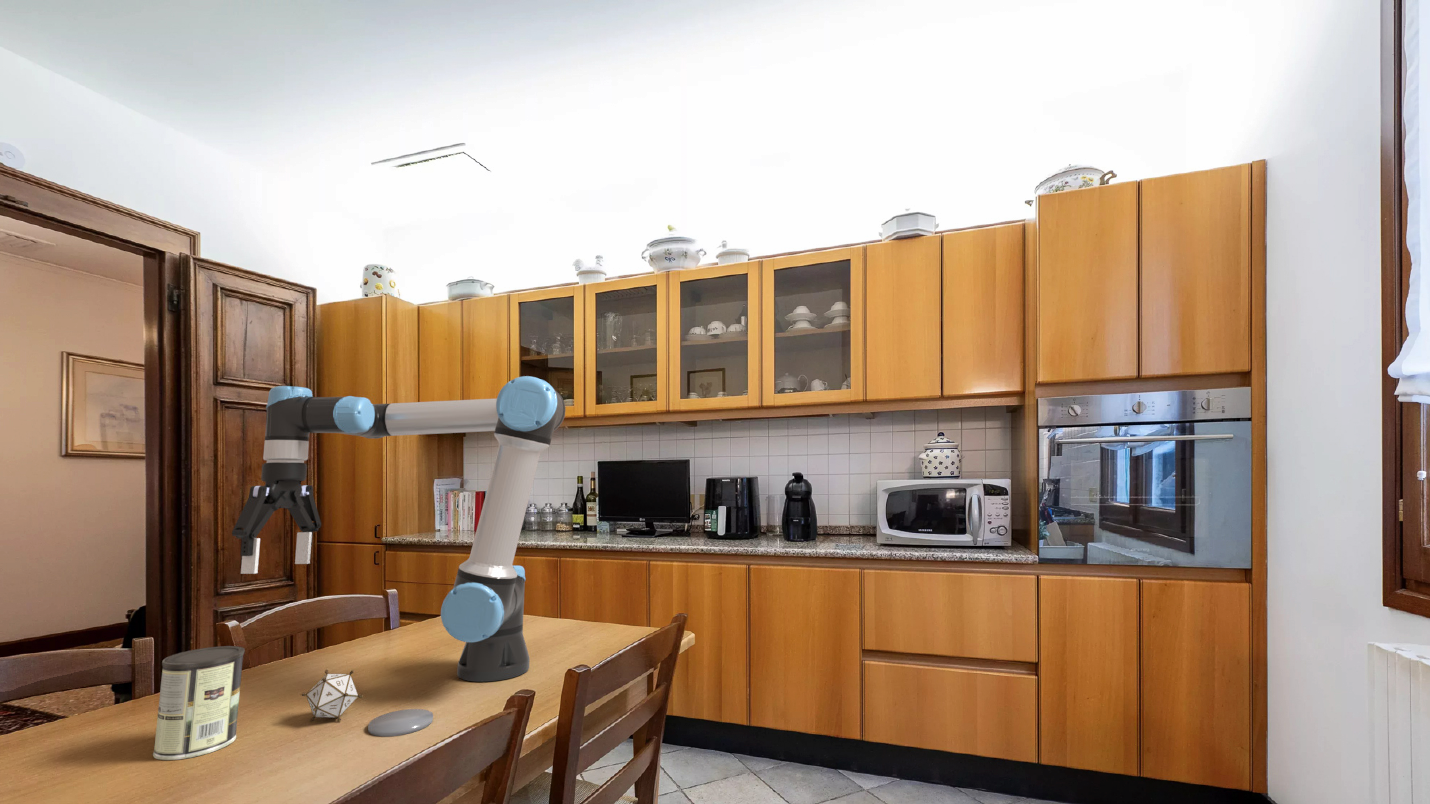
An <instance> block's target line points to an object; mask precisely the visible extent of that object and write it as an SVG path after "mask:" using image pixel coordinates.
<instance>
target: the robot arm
mask: <svg viewBox="0 0 1430 804" xmlns="http://www.w3.org/2000/svg"><path fill="white" fill-rule="evenodd" d="M565 404H566V403H565V401H564V398H563V397H562V395H561V394H560V393H559V392H558V391H557V390H556V389H555V388H554V387H553V386H552V385H551V384H550V382H549V383H548V382H547V381H546V380H544V379H540V378H538V377H535V376H529V375H526V376H525V375H523V376H517V377H515V378H513V379H511V380H510V381H508V382H507V383H505V385H504V386H502V387H501V389H500V390H499V392H498V394H497V397H496V398H480V399H462V400H461V399H460V400H458V399H457V400H436V401H435V400H433V401H419V402H418V401H416V402H415V401H414V402H412V401H411V402H396V403H395V402H394V403H372V402H371V400H370V399H369V398H367V397H364V396H363V397H361V396H352V395H348V396H327V397H326V396H320V397H319V396H313V391H312V390H311V389H310V388H308V387H302V386H295V385H294V386H290V385H279V386H274V387H272V388H271V389H270V390H269V392H268V398H267V404H266V406H265V410H266V418H265V419H266V420H265V435H264V445H263V455H262V458H263V460H264V461H266V462H265V463H264V462H263V464H262V465H261V481H262V482H264V485H253V486H250V488H249V494H248V498H247V500H246V502H245V505H244V507H243V509H242V511H241V513H240V515H239V517H238V519H237V520H236V523H235V525H234V527H233V530H232V532H231V536H233V537H235V538H236V539H238V540H239V539H240V540H241V545H240V546H241V547H240V556H241V568H240V575H241V574H244V575H245V574H246V575H248V574H249V575H251V574H253V575H255V574H258V573H259V572H258V570H259V560H260V559H259V558H260V546H261V538H259V537H258V538H257V536H258V535H259V534H260V532H261V531H262V529H263V528H264V527H265V525H266V524H267V522H268V521H269V520H270V518H271V516H272V515H273V514H274V512H276V511H278V510H279V509H286V510H288V511H289V513H290V515H291V516H292V518H293V520H294V522H295V523H296V525H297V527H298V528H299V530H300V531H301V532H300V531H299V532H296V533H297V534H296V545H295V559H294V561H295V562H294V564H295V565H308V564H311V554H312V553H311V550H312V546H313V535H314V533H315V532H318V531H319V529H320V528H321V527H322V522H321V519H320V514H319V511H318V507H317V504H316V502H315V498H314V487H313V485H307V484H305V485H302V482H303V481H306V479H307V470H308V464H306V461H307V460H309V445H310V443H309V441H310V440H309V439H310V433H311V434H319V433H320V434H341V435H342V434H343V435H349V436H350V435H351V436H355V437H356V436H357V437H361V438H362V437H363V438H365V439H381V438H385V437H393V436H394V437H395V436H413V435H415V436H416V435H435V434H439V435H440V434H453V433H454V434H456V433H457V434H459V433H477V432H494V433H493V435H494V438H495V439H496V440H497V442H498V447H497V453H496V456H495V460H494V462H493V467H492V471H491V474H490V478H489V481H488V482H489V483H488V484H487V485H488V486H487V489H486V492H485V498H484V500H483V504H482V509H481V513H480V516H479V520H478V524H477V527H476V531H475V536H474V539H473V542H472V546H471V551H470V555H469V558H467V560H465V561H464V562H462V563H461V564H459V566H458V569H457V573H456V576H455V577H456V578H455V580H454V584H453V588H452V589H451V590H450V591H449V592H447V595H446V596H445V598H444V599H443V602H442V605H441V608H440V618H441V622H442V626H443V627H444V629H445V630H446V632H447V634H449V635H450V636H451V637H452V638H453V639H456V640H457V641H459V642H463V643H464V646H463V649H462V652H461V655H460V656H459V660H458V662H457V668H456V670H457V671H456V675H457V678H459V679H461V680H463V681H469V682H479V683H480V682H495V681H504V680H508V679H512V678H516V677H518V676H521V675H523V674H525V673H527V672H528V671H529V670H530V654H529V651H528V647H527V644H526V640H525V637H524V633H523V632H524V628H523V627H524V611H525V610H524V608H525V607H524V606H525V586H526V585H525V584H526V583H525V582H526V581H527V580H526V570H525V568H524V566H522V565H514V559H515V555H516V551H517V546H518V543H519V540H520V535H521V531H522V527H523V524H524V520H525V516H526V512H527V508H528V503H529V500H530V496H531V492H532V488H533V484H534V480H535V476H536V472H537V468H538V464H539V460H540V456H541V453H542V452H543V451H545V450H547V449H548V448H550V446H551V442H552V438H553V434H554V432H555V431H557V429H558V428H559V427H560V426H561V425H562V424H563V422H564V419H565V417H566V405H565ZM528 669H529V670H528Z"/></svg>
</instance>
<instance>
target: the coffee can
mask: <svg viewBox="0 0 1430 804" xmlns="http://www.w3.org/2000/svg"><path fill="white" fill-rule="evenodd" d="M245 652H246V651H245V648H244V647H242V646H237V645H236V646H235V645H224V646H223V645H222V646H211V647H204V648H197V649H191V650H187V651H182V652H178V653H174V654H172V655H169V656H167V657H165V658H164V659H163V660H162V662H161V666H162V670H161V671H162V672H161V679H160V680H161V681H160V690H159V691H160V692H159V700H158V701H159V702H158V711H157V718H156V719H157V721H156V728H155V739H154V740H155V741H154V749H153V752H152V756H153V758H154V759H156V760H161V761H176V760H183V759H191V758H195V757H199V756H203V755H208V754H210V753H213V752H216V751H218V750H221V749H224V748H225V747H227V746H230V745H231V744H233V742H235V741H236V739H237V727H238V713H239V703H240V692H241V691H240V690H241V683H242V672H243V661H244V655H245Z"/></svg>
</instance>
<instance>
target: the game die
mask: <svg viewBox="0 0 1430 804" xmlns="http://www.w3.org/2000/svg"><path fill="white" fill-rule="evenodd" d="M354 672H355V669H352V670H351V671H349V673H329V670H327V669H325V670H324V673H325V675H324V676H323V677H321V679H319V680H318V681H317V683H315V685H314V686H312V687H311V688H310V689H309V690H308V691H307V692H302V693H300V696H301V697H306V699H307V702H308V704H309V708H310V710H311V713H312V716H313V717H311V718H310V723H312V722H314V721H315V720H316V719H315V718H317V719H319V718H321V719H322V718H324V719H325V718H329V719H330V718H335V719H336V718H337V719H336V721H337V722H339V723H341V721H342V719H341V716H342V715H343V714H344V712H346V711H347V710H348V708H349V707H350V706H351V705H352V704H353V703H354V702H355V701H356V700H357V699H359V698H360V699H362V698H364V695H363V694H359V692H358V690H357V687H356V685H355V682H354V679H353V677H352V674H354Z"/></svg>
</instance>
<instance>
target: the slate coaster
mask: <svg viewBox="0 0 1430 804" xmlns="http://www.w3.org/2000/svg"><path fill="white" fill-rule="evenodd" d="M433 720H434V714H433V712H432V711H430V710H428V709H421V708H407V709H401V710H395V711H391V712H388V713H387V712H386V713H384V714H381V715H379V716H377V717H375V718H372V720H370V722H369V723H368V726H367V728H368V730H367V731H368V734H371V736H376V737H398V736H405V735H409V734H412V733H416V732H418V731H421V730H423V729H426V728H427V727H429V726H430V725H431V724H432V723H433V722H434V721H433Z"/></svg>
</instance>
